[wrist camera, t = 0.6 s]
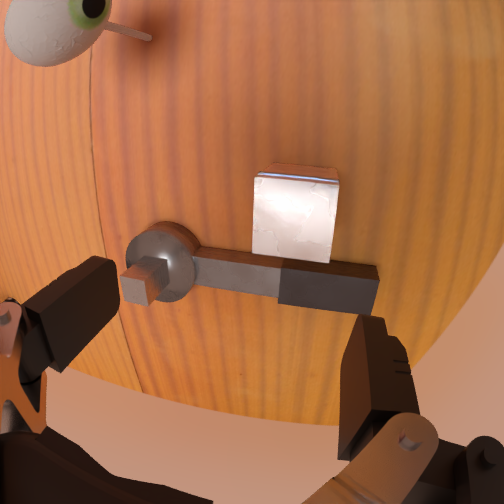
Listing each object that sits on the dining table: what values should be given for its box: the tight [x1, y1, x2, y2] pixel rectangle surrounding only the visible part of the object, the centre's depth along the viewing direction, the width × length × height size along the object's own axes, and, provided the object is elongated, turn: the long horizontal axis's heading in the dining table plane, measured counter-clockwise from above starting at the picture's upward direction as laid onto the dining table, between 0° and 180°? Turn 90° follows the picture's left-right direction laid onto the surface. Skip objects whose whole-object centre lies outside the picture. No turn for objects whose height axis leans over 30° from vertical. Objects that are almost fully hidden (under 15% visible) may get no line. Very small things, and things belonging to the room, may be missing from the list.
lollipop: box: [4, 0, 152, 67], centre depth 15 cm, size 7×7×15 cm
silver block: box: [252, 163, 339, 263], centre depth 22 cm, size 5×5×6 cm
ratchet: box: [120, 222, 380, 315], centre depth 25 cm, size 22×7×7 cm, turn 88°
